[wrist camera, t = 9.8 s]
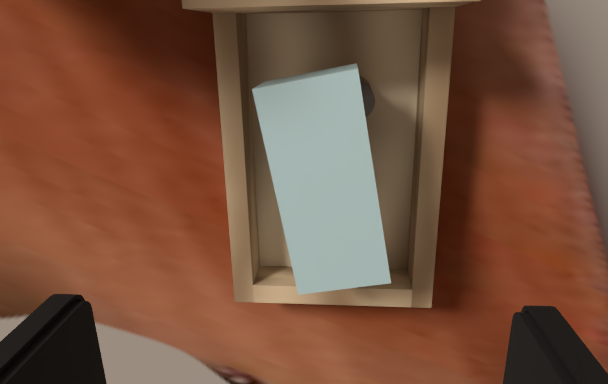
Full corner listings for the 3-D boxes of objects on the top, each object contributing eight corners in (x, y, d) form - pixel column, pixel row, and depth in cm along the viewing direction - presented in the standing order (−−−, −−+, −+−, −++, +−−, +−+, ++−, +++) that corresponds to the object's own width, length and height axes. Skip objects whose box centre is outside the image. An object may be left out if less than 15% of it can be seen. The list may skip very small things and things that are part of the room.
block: (265, 80, 23) (251, 89, 20) (356, 63, 22) (358, 69, 19) (304, 261, 26) (298, 294, 23) (385, 250, 25) (391, 283, 22)
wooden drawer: (246, 274, 32) (215, 348, 25) (227, -8, 26) (179, -24, 19) (422, 278, 31) (446, 357, 24) (443, -14, 25) (484, -34, 18)
